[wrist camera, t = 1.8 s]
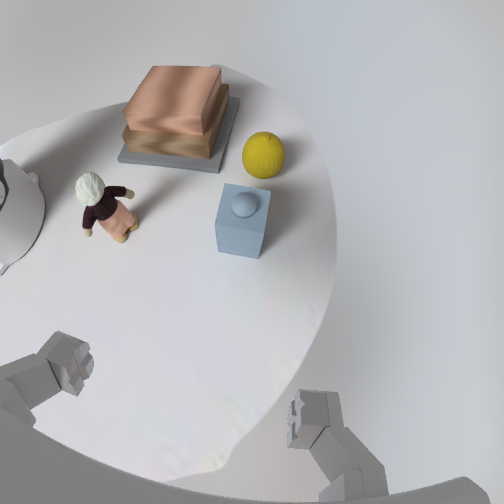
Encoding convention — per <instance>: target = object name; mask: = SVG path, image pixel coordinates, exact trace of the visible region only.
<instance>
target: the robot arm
mask: <svg viewBox="0 0 504 504" xmlns="http://www.w3.org/2000/svg"><path fill="white" fill-rule="evenodd" d="M44 212H45V202H44V197H43V194H42V192H41V191H40V189H39V178H38V175H37V174H35V173H28V174H26V173H25V172H24V171H23V170H22V169H21V168H20V167H18V166H17V165H16V164H15V163H14V162H13V161H12V160H10V159H7V160H1V159H0V276H1V275H2V274H3V273H4V271H5V270H6V269H7V267H8V266H9V265H11V264H12V263H14V262H15V261H17V260H19V259H20V258H21V257H22V256H23V255H24V254H25V253H26V252H27V251H28V250H29V248H30V247H31V246H32V244H33V243H34V241H35V239H36V237H37V235H38V233H39V231H40V228H41V225H42V222H43V218H44ZM89 350H90V347H89V344H88V343H87V342H84V341H82V340H79V339H77V338H75V337H72V336H70V335H67V334H65V333H62V332H60V331H57V332H55V333H54V334H53V335H52V336H51V337H50V338H49V340H48V341H47V342H46V343H45V344H44V346H43V347H42V348H41V349H40V350H39V352H38V353H37V354H31V355H29V356H26V357H24V358H21V359H18V360H16V361H13V362H11V363H8V364H6V365H3V366H1V367H0V504H490V500H489V497H488V495H487V493H486V492H485V491H484V490H483V489H482V488H481V487H479V486H478V485H477V484H476V483H474V482H473V481H472V480H470V479H469V478H467V477H459V478H455V479H452V480H449V481H446V482H442V483H439V484H435V485H432V486H428V487H424V488H420V489H416V490H412V491H407V492H402V493H397V494H392V495H389V493H388V487H387V481H386V475H385V470H384V466H383V465H382V464H381V463H380V462H379V461H378V460H377V459H376V457H375V456H374V455H373V454H372V453H371V452H370V451H369V450H368V449H367V448H366V447H365V446H364V445H363V443H362V442H361V441H360V440H359V439H358V438H357V437H356V436H355V435H354V434H353V433H352V432H351V430H350V429H349V428H348V427H344V424H343V417H342V411H341V405H340V399H339V394H338V393H337V392H328V391H317V390H303V389H298V390H297V391H296V393H295V400H294V401H292V402H291V405H290V407H289V411H288V425H289V426H290V430H289V432H288V434H287V438H288V439H287V444H288V445H287V447H288V448H296V449H310V450H309V451H310V453H311V454H312V456H313V457H314V459H315V460H316V462H317V463H318V465H319V466H320V468H321V469H322V471H323V472H324V474H325V475H326V477H327V478H328V480H329V481H330V483H331V484H330V485H329V486H327V487H326V488H325V489H324V490H323V491H321V492H320V493H319V502H304V503H303V502H271V501H258V500H247V499H239V498H230V497H224V496H218V495H212V494H206V493H201V492H196V491H192V490H187V489H182V488H178V487H174V486H170V485H167V484H163V483H159V482H156V481H152V480H149V479H146V478H143V477H140V476H137V475H134V474H131V473H128V472H125V471H122V470H120V469H117V468H114V467H112V466H109V465H107V464H104V463H102V462H99V461H97V460H95V459H92V458H90V457H88V456H86V455H83V454H81V453H79V452H77V451H75V450H73V449H71V448H69V447H67V446H65V445H63V444H61V443H59V442H57V441H55V440H54V439H52V438H50V437H48V436H46V435H45V434H43V433H41V432H39V431H38V430H36V429H34V428H33V425H34V424H35V422H36V418H35V416H34V415H33V414H32V412H31V411H30V410H31V409H32V408H34V407H36V406H37V405H39V404H41V403H42V402H44V401H45V400H47V399H49V398H50V397H52V396H54V395H55V394H57V393H59V392H60V391H61V390H63V391H65V392H68V393H70V394H72V395H75V396H77V397H78V395H79V393H80V392H81V390H82V388H83V387H84V380H85V379H87V378H89V377H90V375H91V373H92V371H93V367H94V361H93V357H92V356H91V354H90V353H89Z"/></svg>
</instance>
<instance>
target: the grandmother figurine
mask: <svg viewBox="0 0 504 504" xmlns="http://www.w3.org/2000/svg"><path fill="white" fill-rule="evenodd" d="M75 190H76V196H77V199H78V200H79V201H80V202H81V203H82V204H83V205H84V206H86V209H85V211H84V215H83V225H82V227H83V228H84V234H85V236H86V237H90V236H91V235H92V233H93V232H92V227H93V225H94V223H95V221H96V220H98V222H99V223H100V225H101V226H102V227H103V228H104V229H105V231H106V232H108V233H109V234H110V235H111V237H112V238H113V239H114V240H116V241H118V242H119V243H124V242H125V241H126V240H127V238H128V235H127V233H126V230H127V229H129V230H130V231H135V230H136V229H137V228H138V227H139V223H138V220H137V217H136V215H135V214H134V213H130V212H129V211H128V209H127V208H126V207H125V206H124V205H123V204H122V203H121V202H120V201H119V200H116V199H115V197H127V198H128V199H132V198H133V197H134V192H133V191H131V190H129V189H126V188H125V187H123V186H107V187H105V184H104V182H103V180H102V179H101V178H100V177H99V175H97V174H95V173H93V172H90V173H88V172H87V173H85V174H84V175H82V176H81V177H80V178H79V179H78V180H77V182H76V187H75Z"/></svg>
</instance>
